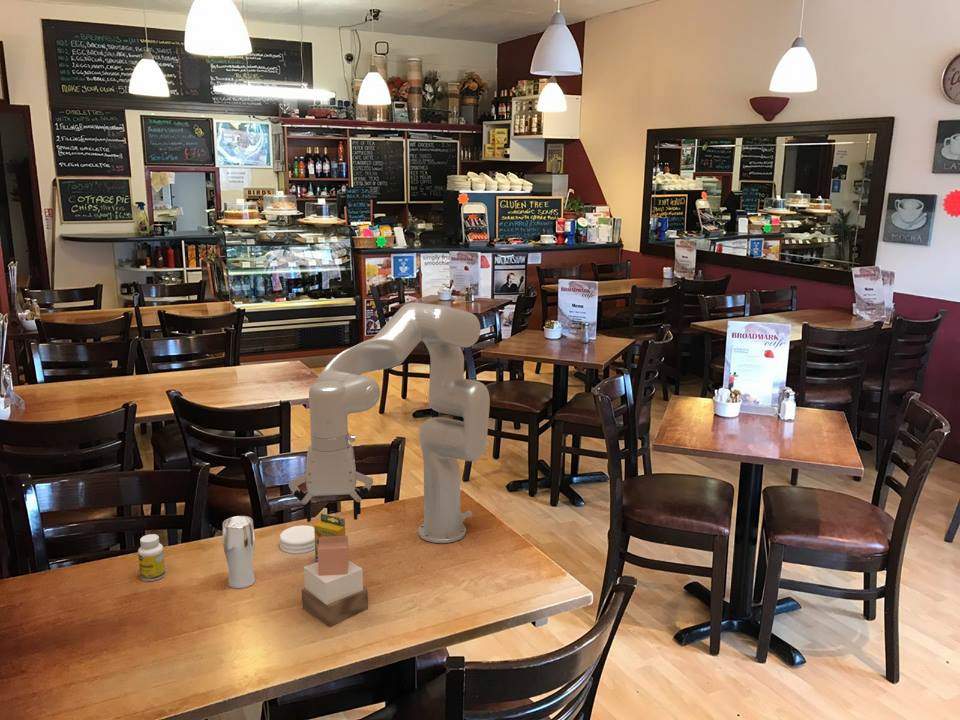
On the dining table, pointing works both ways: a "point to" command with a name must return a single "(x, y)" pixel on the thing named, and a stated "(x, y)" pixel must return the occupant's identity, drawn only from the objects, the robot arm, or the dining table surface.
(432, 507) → the robot arm
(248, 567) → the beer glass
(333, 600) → the tower top
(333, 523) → the crayon box
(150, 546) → the supplement bottle
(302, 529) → the coaster
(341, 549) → the terracotta cube
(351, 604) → the tower bottom
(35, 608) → the dining table surface
